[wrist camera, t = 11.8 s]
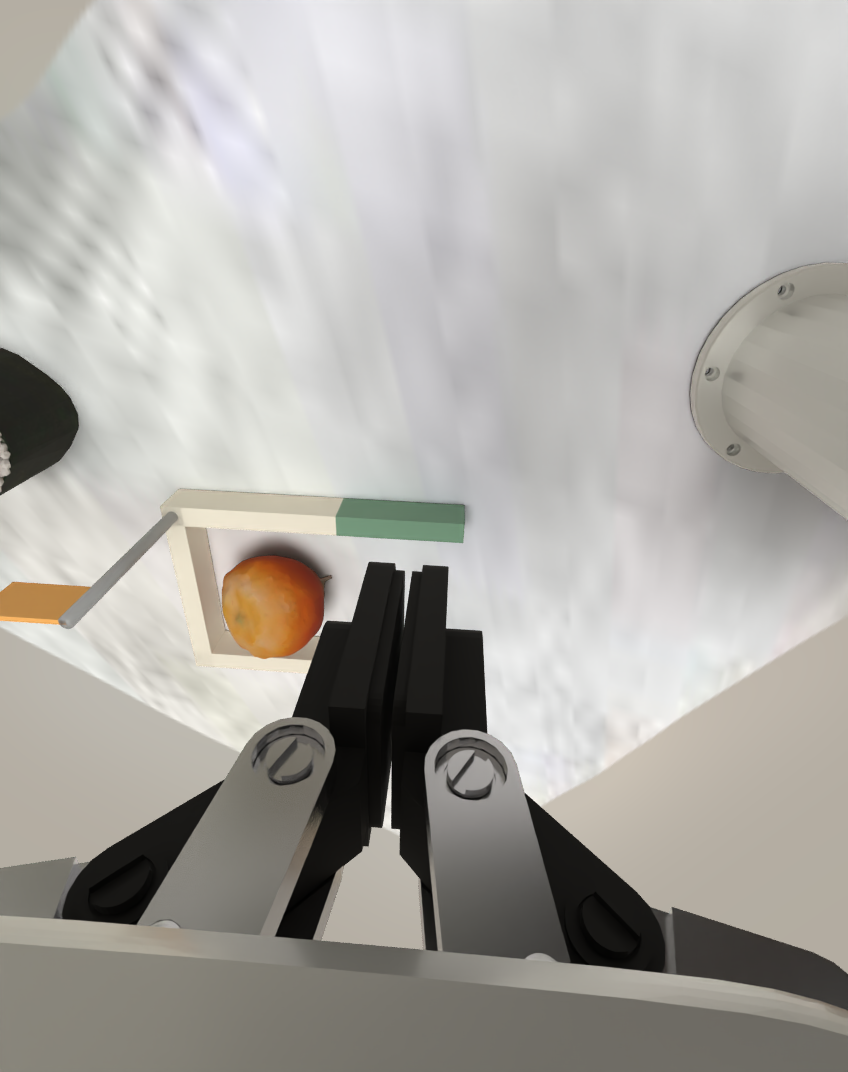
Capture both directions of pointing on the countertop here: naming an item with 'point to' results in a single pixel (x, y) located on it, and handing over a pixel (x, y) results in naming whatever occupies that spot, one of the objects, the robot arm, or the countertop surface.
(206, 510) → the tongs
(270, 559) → the fruit
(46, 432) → the sushi
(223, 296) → the countertop surface
